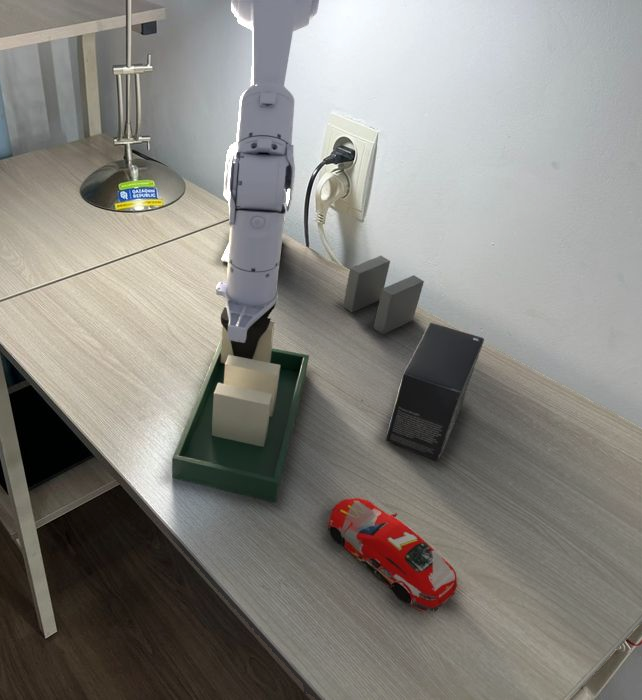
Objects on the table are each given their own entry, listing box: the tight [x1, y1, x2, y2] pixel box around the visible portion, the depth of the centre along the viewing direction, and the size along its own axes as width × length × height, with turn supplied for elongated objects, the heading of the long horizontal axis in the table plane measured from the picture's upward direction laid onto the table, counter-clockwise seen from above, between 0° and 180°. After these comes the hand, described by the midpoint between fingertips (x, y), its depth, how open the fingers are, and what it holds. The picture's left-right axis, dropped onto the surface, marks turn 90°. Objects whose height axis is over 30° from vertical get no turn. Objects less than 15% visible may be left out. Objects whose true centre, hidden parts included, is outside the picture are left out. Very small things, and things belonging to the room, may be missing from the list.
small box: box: [385, 322, 485, 461], centre depth 77 cm, size 11×6×10 cm, turn 149°
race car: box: [327, 497, 458, 613], centre depth 65 cm, size 13×5×4 cm, turn 37°
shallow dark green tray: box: [171, 338, 310, 503], centre depth 80 cm, size 21×11×3 cm, turn 163°
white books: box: [212, 355, 281, 447], centre depth 78 cm, size 7×6×6 cm
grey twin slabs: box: [342, 255, 425, 335], centre depth 95 cm, size 8×6×6 cm
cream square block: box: [220, 320, 276, 364], centre depth 84 cm, size 2×6×6 cm, turn 73°
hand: (245, 353), depth 85 cm, fingers closed on cream square block, 2 cm apart
